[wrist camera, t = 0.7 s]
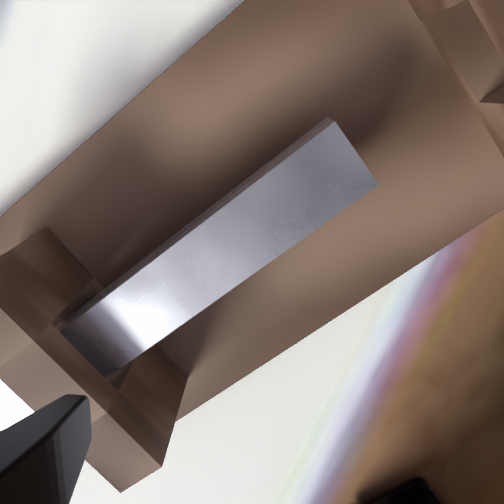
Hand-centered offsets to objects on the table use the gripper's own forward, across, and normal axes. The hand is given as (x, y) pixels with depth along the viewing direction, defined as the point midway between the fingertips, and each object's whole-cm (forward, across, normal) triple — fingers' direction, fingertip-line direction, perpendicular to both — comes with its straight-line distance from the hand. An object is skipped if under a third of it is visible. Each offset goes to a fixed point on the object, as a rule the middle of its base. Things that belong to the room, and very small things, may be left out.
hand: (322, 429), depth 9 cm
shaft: (+11, +8, +3) cm, 14 cm away
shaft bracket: (+12, +2, -2) cm, 13 cm away
